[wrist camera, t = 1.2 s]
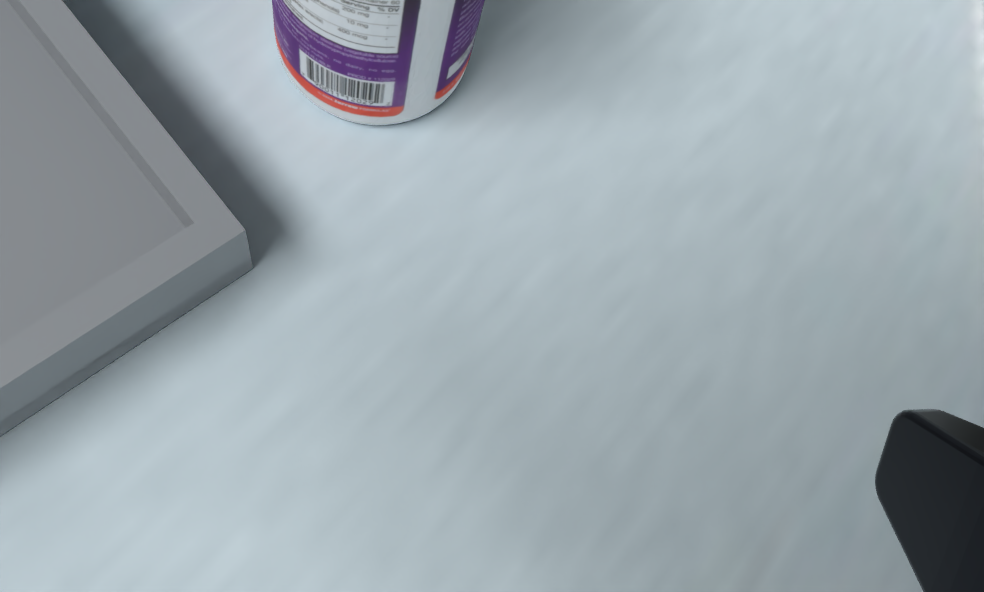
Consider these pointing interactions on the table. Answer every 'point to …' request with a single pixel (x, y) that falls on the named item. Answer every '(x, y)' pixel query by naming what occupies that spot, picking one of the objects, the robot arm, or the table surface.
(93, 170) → the tray
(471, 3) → the pill bottle
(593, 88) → the table surface
